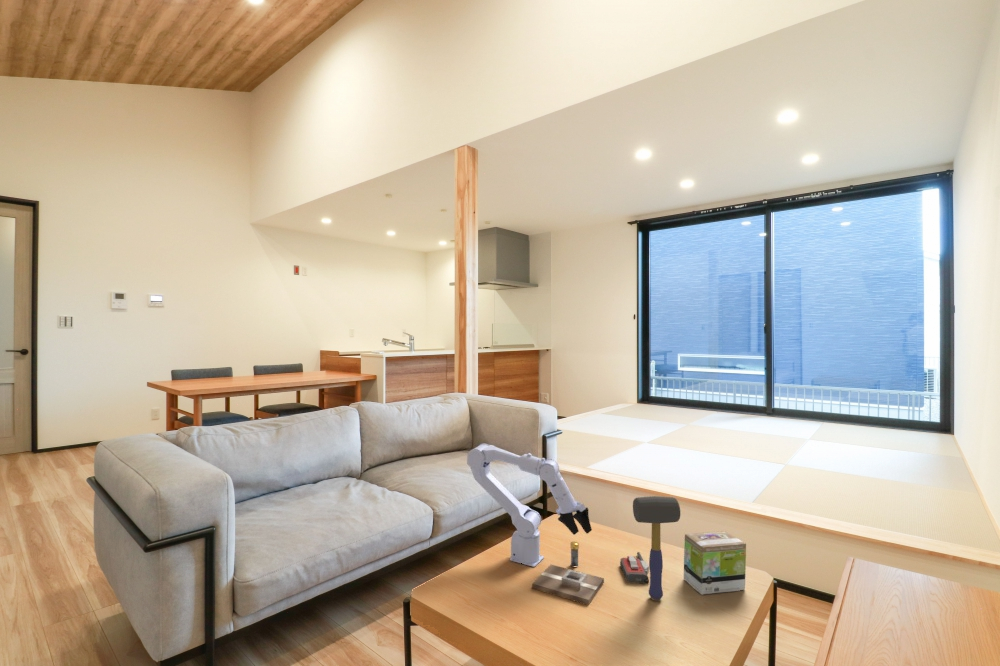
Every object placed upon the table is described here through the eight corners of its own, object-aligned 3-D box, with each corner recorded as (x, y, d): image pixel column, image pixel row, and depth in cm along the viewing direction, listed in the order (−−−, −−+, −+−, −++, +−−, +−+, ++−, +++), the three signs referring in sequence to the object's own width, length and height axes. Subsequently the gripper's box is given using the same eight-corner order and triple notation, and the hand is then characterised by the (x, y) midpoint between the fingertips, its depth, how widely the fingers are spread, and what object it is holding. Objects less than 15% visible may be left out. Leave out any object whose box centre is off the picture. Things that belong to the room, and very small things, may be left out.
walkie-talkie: (655, 586, 151) (641, 556, 171) (655, 572, 151) (641, 544, 171) (626, 585, 151) (615, 555, 171) (626, 571, 151) (615, 543, 171)
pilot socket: (561, 584, 148) (561, 577, 148) (569, 575, 153) (569, 569, 153) (580, 589, 145) (580, 583, 145) (587, 580, 150) (587, 574, 150)
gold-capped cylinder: (569, 566, 163) (569, 544, 163) (572, 562, 165) (572, 540, 165) (577, 568, 161) (577, 545, 161) (579, 564, 164) (580, 542, 164)
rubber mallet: (672, 591, 147) (672, 492, 147) (681, 605, 140) (682, 501, 139) (631, 592, 147) (631, 492, 147) (638, 606, 139) (638, 501, 139)
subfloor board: (532, 588, 149) (532, 583, 149) (550, 568, 161) (550, 564, 161) (588, 605, 140) (588, 599, 140) (603, 583, 152) (603, 577, 152)
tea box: (702, 596, 144) (702, 547, 144) (682, 579, 154) (683, 533, 154) (746, 591, 148) (746, 542, 147) (724, 574, 157) (725, 529, 157)
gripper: (582, 485, 159) (603, 524, 157) (559, 491, 171) (578, 527, 169) (567, 496, 155) (589, 536, 153) (544, 501, 167) (564, 538, 165)
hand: (582, 532), depth 161 cm, fingers open, 7 cm apart
